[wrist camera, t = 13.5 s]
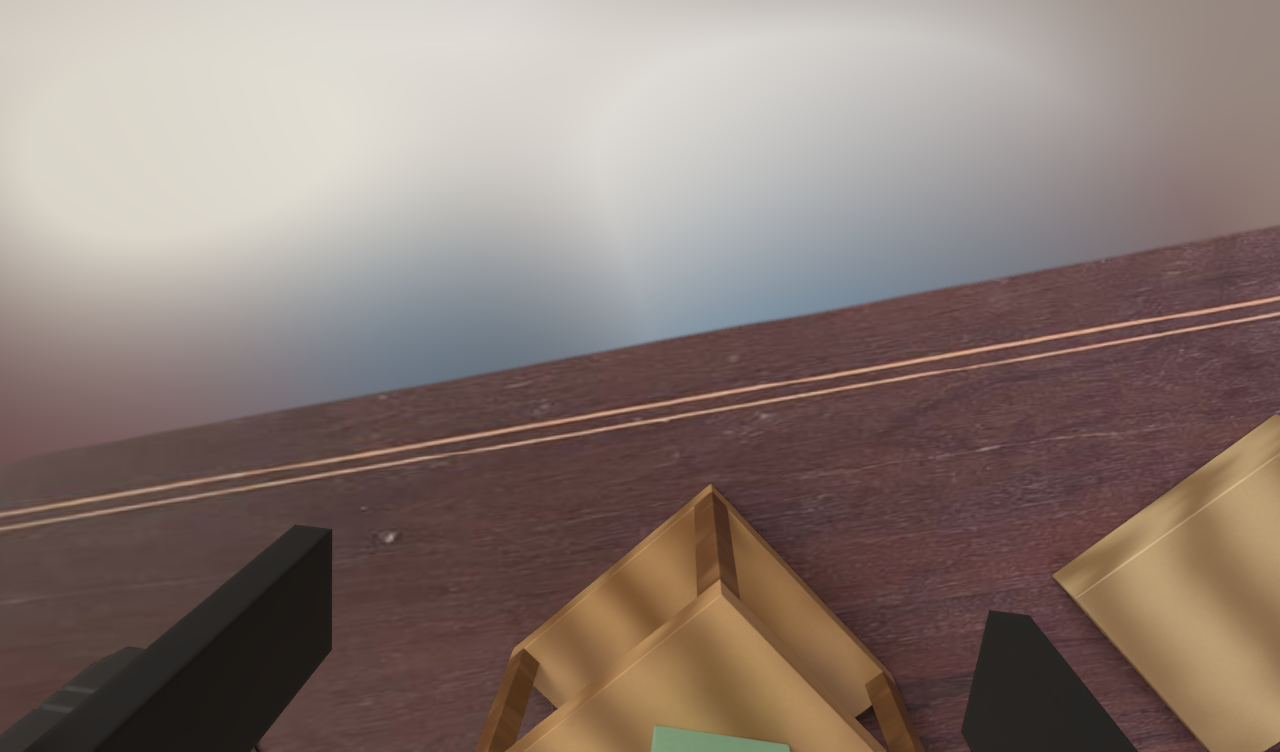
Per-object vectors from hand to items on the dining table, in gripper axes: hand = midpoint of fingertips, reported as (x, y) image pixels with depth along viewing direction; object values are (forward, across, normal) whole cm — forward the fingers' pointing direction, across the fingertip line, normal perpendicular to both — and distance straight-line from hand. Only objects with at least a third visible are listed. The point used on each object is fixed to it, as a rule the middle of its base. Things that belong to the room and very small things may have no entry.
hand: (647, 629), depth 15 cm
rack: (+32, +4, -22) cm, 39 cm away
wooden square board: (+32, +37, -12) cm, 50 cm away
